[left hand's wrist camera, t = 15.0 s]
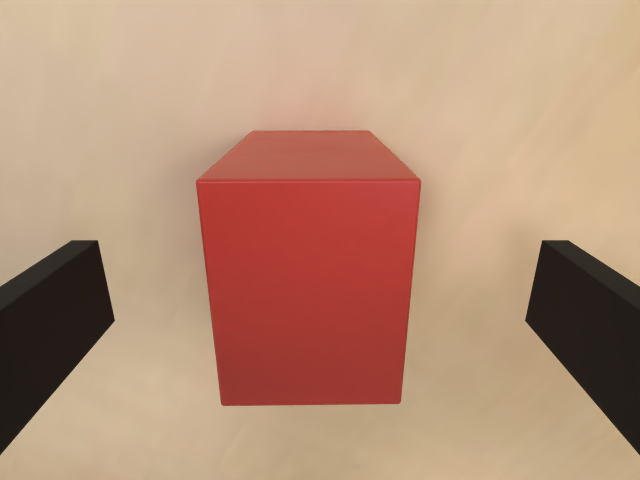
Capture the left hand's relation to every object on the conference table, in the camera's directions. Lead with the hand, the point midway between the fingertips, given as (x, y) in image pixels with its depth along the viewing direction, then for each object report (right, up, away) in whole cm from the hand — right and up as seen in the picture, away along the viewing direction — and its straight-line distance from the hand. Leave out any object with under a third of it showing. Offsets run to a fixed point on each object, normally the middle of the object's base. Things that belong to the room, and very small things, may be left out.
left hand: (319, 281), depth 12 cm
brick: (0, +3, +7) cm, 8 cm away
